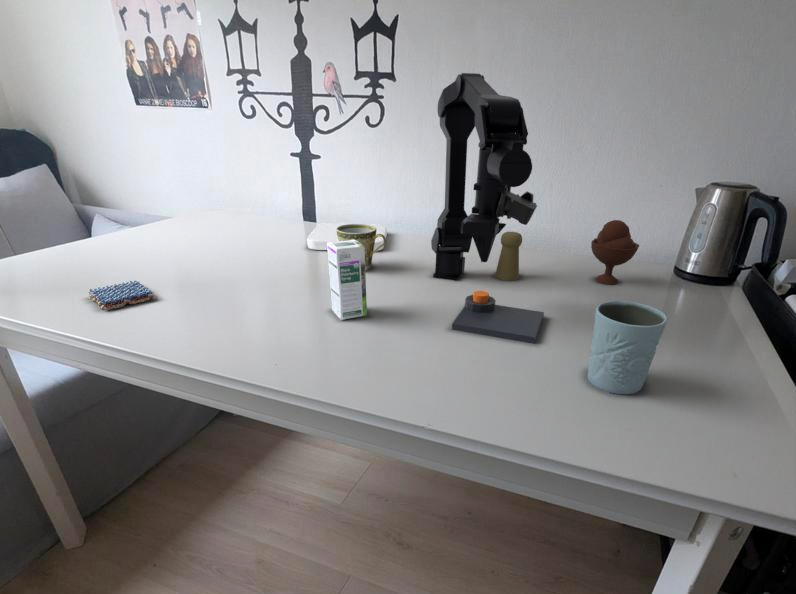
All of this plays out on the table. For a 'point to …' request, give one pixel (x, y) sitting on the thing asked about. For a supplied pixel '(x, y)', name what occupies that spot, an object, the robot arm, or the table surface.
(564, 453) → the table surface
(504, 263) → the cork
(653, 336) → the light blue embossed pot
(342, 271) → the syrup box
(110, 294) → the woven mat
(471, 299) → the dark grey base plate
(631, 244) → the ice cream bowl
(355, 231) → the ceramic cup
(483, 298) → the button
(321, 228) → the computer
